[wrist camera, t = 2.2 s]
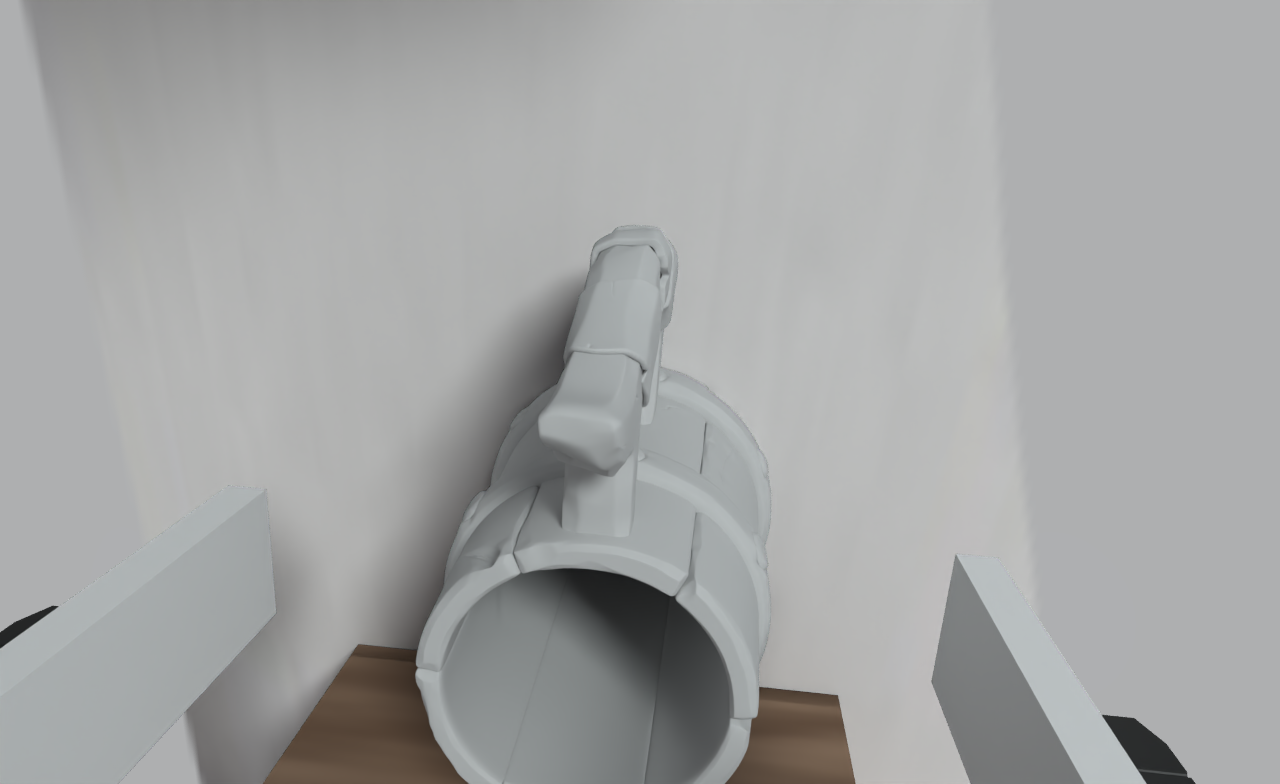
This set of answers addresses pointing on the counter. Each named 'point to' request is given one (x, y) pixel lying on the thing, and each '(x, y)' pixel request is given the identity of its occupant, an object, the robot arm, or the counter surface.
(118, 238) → the counter surface
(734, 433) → the mug
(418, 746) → the wooden box
